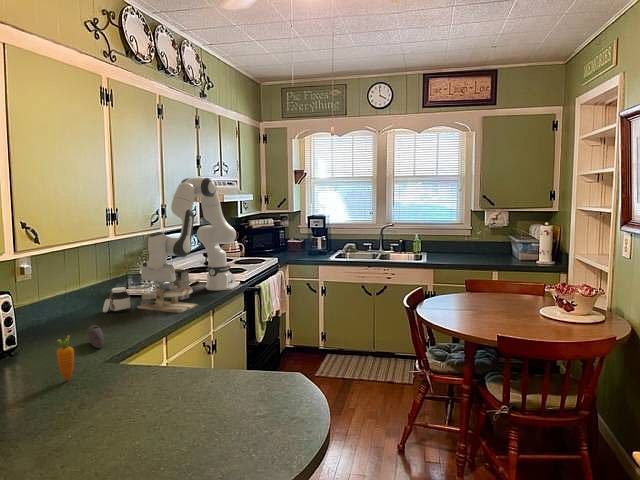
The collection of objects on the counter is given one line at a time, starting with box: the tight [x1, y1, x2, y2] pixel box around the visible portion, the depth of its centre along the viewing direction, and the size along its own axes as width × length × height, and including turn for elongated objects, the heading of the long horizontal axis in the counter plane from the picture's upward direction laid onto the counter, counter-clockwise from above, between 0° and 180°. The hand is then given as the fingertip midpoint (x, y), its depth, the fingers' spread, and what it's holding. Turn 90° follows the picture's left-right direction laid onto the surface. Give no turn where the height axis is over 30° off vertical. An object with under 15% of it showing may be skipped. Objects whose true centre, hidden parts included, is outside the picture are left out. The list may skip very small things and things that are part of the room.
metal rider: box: [159, 282, 175, 292], centre depth 250 cm, size 4×6×4 cm, turn 67°
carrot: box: [56, 335, 75, 382], centre depth 156 cm, size 5×5×15 cm
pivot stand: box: [136, 286, 199, 314], centre depth 251 cm, size 15×27×10 cm, turn 67°
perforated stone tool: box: [86, 324, 105, 349], centre depth 192 cm, size 15×5×7 cm, turn 34°
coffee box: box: [169, 268, 190, 301], centre depth 271 cm, size 9×6×16 cm
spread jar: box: [102, 286, 131, 314], centre depth 244 cm, size 12×11×12 cm
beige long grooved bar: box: [141, 285, 194, 304], centre depth 251 cm, size 8×27×6 cm, turn 67°
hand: (159, 289), depth 253 cm, fingers closed
